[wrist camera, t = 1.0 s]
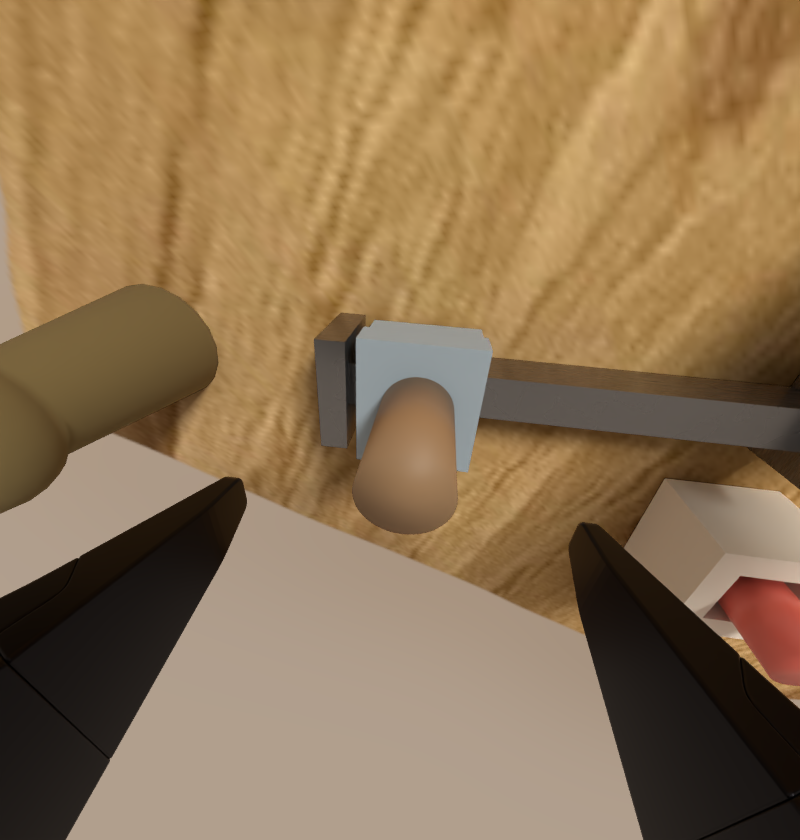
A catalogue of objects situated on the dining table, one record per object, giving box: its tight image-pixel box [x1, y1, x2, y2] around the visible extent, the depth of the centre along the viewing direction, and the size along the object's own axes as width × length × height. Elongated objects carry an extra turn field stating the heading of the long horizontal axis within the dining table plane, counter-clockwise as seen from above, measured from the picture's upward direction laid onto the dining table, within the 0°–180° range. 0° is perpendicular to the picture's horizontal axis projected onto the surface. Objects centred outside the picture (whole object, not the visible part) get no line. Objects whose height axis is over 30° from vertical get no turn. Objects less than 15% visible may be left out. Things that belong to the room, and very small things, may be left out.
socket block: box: [624, 478, 800, 640], centre depth 19 cm, size 6×6×5 cm
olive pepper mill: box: [0, 284, 218, 513], centre depth 14 cm, size 6×6×11 cm
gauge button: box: [718, 576, 800, 686], centre depth 16 cm, size 3×3×4 cm
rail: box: [314, 313, 800, 489], centre depth 16 cm, size 22×5×4 cm, turn 86°
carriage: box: [352, 320, 493, 534], centre depth 14 cm, size 5×6×9 cm
